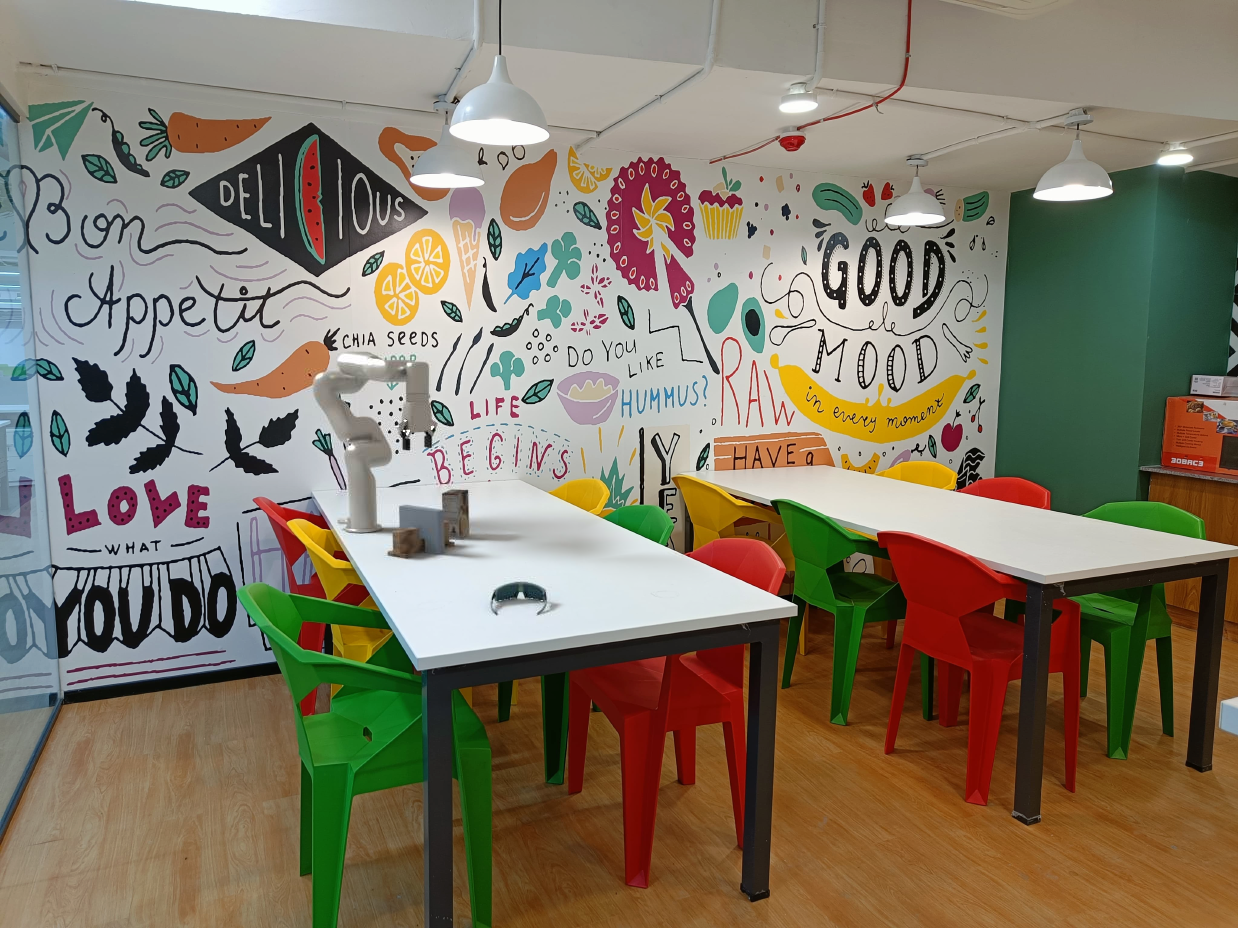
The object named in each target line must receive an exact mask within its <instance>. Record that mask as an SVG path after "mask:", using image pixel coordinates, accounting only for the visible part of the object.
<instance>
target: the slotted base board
mask: <svg viewBox="0 0 1238 928" xmlns="http://www.w3.org/2000/svg"><path fill="white" fill-rule="evenodd" d="M444 537H445V548H451V547H455V545H456V543H455V541H452V540H451V541H450V539H449V521H444ZM422 552H425V539H420V538H419V528H415V527H410V528H405V529H401V530H400V529H397V530H393V531H392V550H388V551H387V556H389V557H390V556H391V557H395V558H400V559H404V560H407V559H410V558H413V555H415V554H419V553H422Z"/></svg>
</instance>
